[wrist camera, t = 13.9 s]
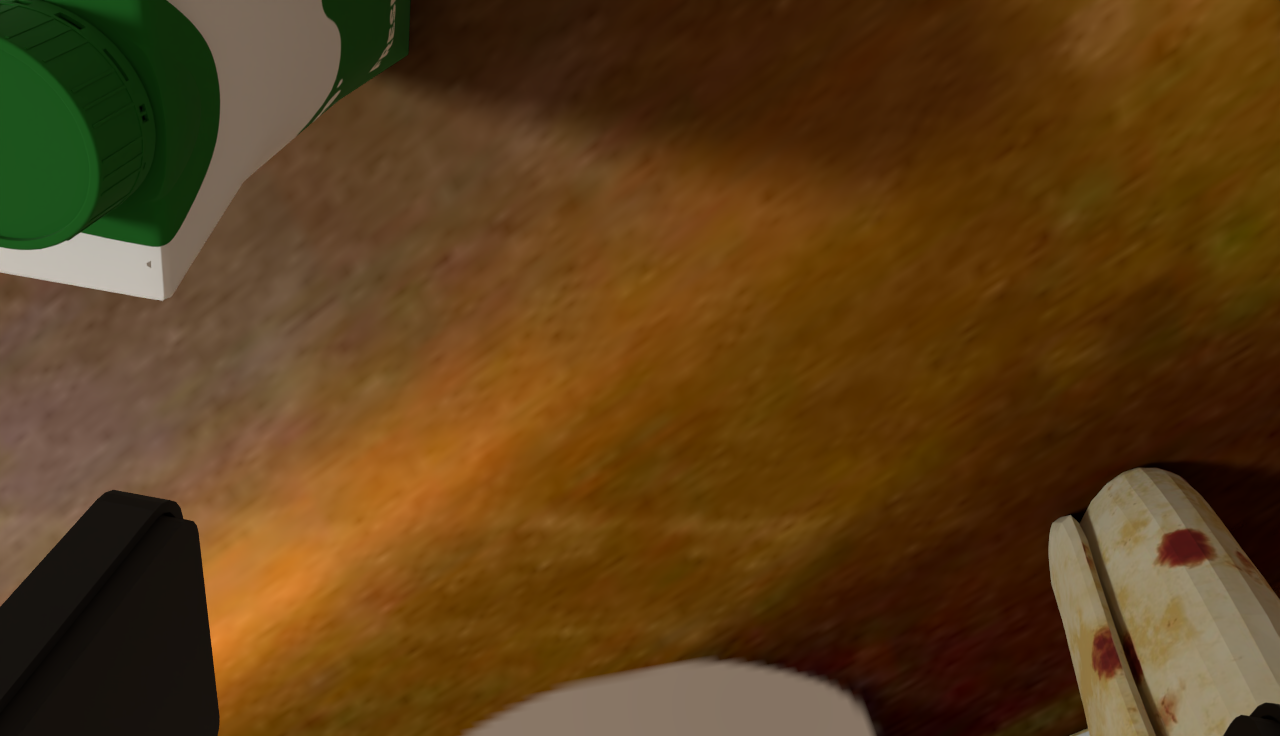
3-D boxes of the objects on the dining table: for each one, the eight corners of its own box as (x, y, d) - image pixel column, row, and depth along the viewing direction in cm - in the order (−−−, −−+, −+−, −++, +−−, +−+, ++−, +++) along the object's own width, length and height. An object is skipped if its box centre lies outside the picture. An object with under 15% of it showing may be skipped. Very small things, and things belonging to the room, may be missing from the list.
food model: (1175, 627, 46) (1405, 1161, 29) (1013, 613, 47) (1145, 1128, 30) (1244, 436, 41) (1571, 945, 24) (1062, 423, 42) (1254, 910, 25)
